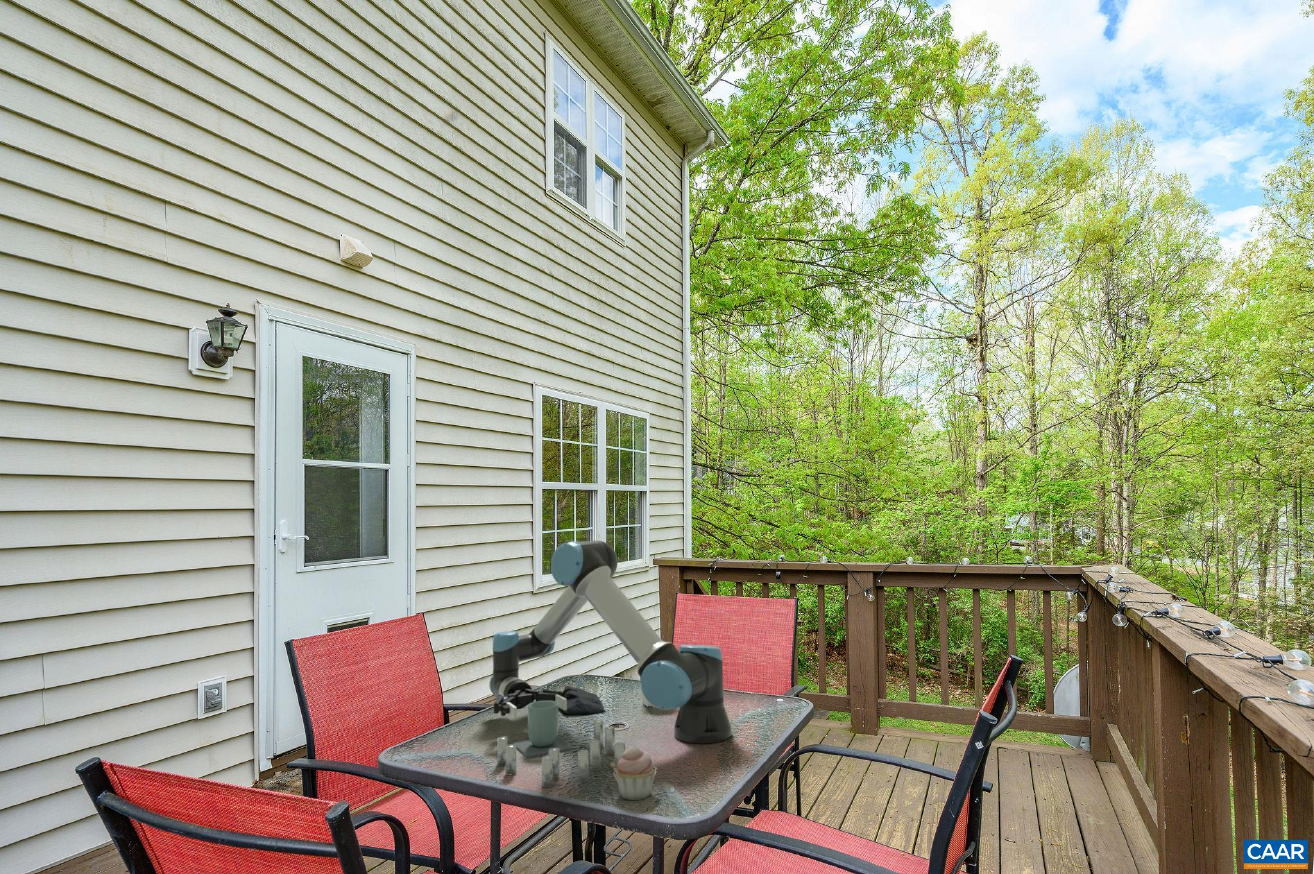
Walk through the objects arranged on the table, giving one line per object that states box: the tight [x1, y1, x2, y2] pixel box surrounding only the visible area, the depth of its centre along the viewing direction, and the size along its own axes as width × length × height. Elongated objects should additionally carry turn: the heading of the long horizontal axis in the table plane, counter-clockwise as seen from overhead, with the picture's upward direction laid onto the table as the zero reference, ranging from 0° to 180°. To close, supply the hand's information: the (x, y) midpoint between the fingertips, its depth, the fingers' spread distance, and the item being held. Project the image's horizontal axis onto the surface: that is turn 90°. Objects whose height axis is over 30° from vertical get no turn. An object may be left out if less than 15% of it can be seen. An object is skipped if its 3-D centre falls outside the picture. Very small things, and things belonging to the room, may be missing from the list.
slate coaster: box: [512, 735, 574, 759], centre depth 174 cm, size 12×12×1 cm
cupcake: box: [612, 743, 658, 801], centre depth 142 cm, size 9×9×10 cm
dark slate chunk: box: [559, 685, 606, 715], centre depth 213 cm, size 15×22×5 cm
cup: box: [527, 701, 559, 747], centre depth 175 cm, size 8×8×10 cm
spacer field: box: [496, 719, 629, 789], centre depth 160 cm, size 22×32×6 cm
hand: (540, 708), depth 176 cm, fingers open, 13 cm apart
